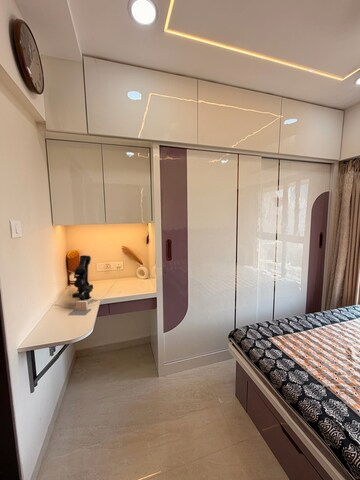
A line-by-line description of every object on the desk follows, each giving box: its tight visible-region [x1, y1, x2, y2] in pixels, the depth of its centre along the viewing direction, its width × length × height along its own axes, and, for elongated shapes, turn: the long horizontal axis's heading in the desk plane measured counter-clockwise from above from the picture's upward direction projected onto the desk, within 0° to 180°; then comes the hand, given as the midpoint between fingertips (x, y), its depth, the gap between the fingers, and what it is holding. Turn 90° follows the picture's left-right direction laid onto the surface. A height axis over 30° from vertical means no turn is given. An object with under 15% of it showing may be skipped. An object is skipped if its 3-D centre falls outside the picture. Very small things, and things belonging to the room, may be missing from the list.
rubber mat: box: [67, 308, 93, 316], centre depth 156 cm, size 10×14×1 cm
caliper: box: [73, 298, 98, 310], centre depth 167 cm, size 20×1×6 cm
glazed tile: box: [75, 300, 89, 311], centre depth 159 cm, size 2×8×7 cm, turn 87°
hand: (82, 301), depth 168 cm, fingers closed
